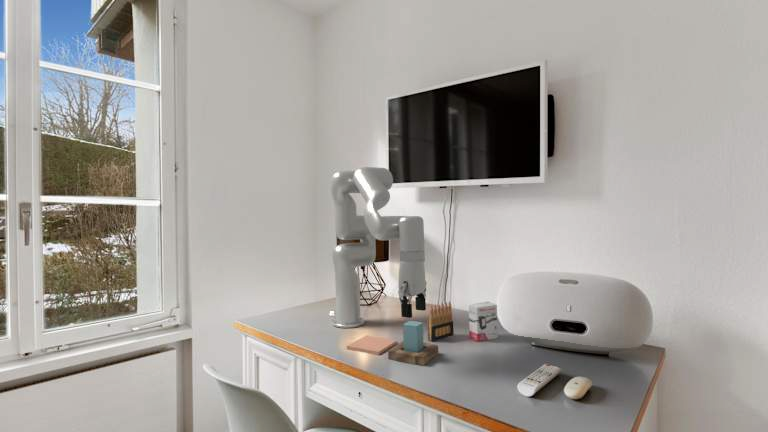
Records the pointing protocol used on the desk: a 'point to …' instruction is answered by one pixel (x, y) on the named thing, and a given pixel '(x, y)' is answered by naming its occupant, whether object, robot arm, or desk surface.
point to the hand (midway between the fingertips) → (414, 313)
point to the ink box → (483, 321)
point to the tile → (372, 344)
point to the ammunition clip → (440, 322)
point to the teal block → (413, 336)
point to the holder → (413, 354)
